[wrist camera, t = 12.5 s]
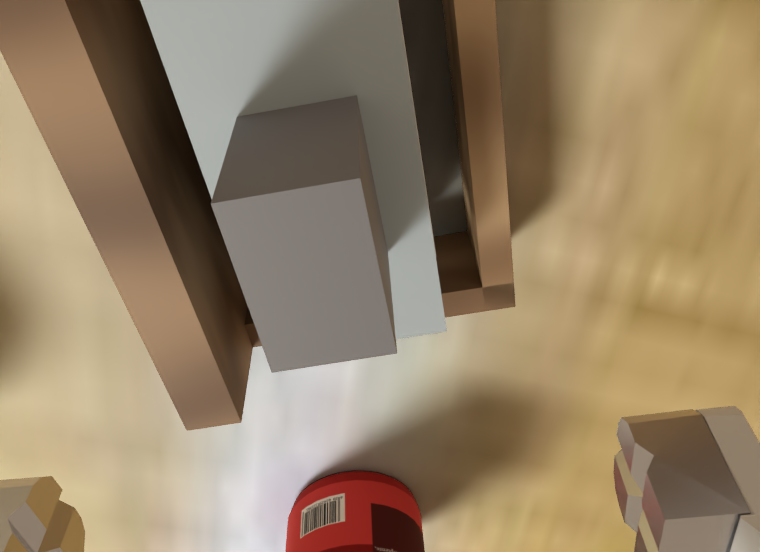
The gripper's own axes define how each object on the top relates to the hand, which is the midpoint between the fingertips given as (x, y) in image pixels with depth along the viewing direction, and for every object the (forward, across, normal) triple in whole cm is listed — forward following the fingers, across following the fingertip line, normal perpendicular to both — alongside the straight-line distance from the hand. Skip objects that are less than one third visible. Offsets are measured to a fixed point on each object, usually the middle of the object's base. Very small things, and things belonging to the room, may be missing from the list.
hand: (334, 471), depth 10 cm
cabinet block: (+19, +1, +2) cm, 19 cm away
